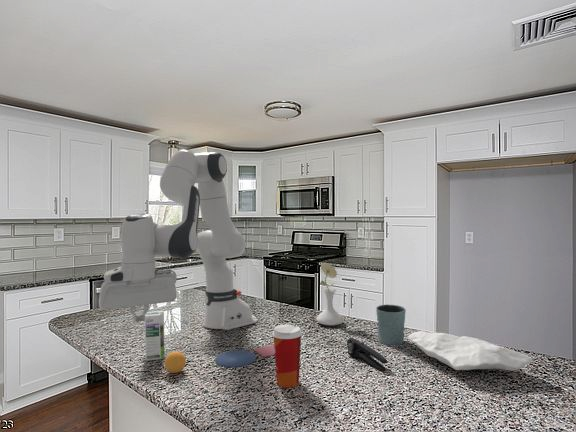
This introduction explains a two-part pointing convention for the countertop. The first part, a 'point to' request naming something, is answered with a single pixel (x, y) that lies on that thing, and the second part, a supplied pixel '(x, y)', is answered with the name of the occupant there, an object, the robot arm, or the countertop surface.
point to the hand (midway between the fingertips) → (139, 321)
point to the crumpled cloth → (468, 352)
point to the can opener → (365, 353)
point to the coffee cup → (287, 354)
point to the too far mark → (265, 351)
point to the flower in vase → (329, 300)
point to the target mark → (235, 358)
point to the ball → (175, 362)
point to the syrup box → (154, 335)
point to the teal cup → (391, 324)
